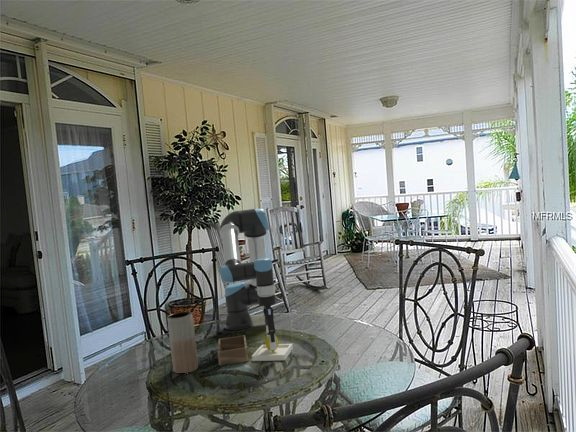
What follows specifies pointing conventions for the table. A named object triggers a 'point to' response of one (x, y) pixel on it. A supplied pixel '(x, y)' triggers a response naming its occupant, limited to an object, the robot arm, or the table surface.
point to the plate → (272, 353)
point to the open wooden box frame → (232, 350)
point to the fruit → (269, 343)
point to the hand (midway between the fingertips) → (272, 344)
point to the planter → (182, 342)
